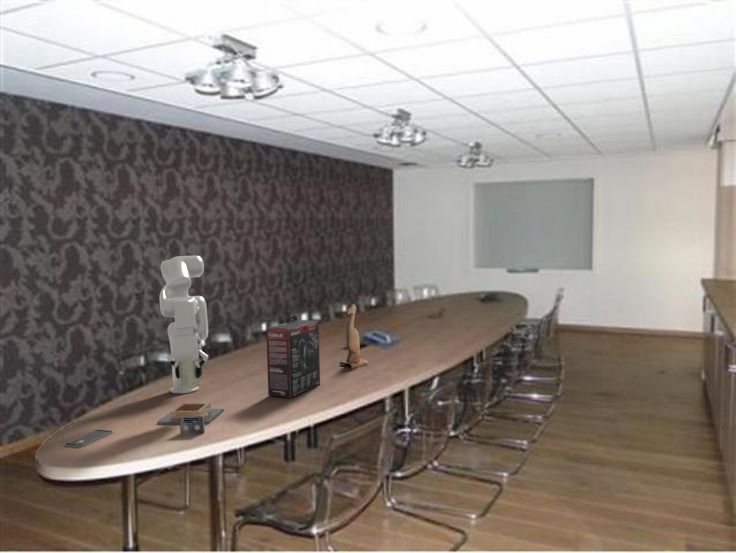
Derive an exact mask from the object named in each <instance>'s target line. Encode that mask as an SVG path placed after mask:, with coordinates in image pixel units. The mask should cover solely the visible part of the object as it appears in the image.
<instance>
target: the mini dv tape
mask: <svg viewBox="0 0 736 553" xmlns="http://www.w3.org/2000/svg"><path fill="white" fill-rule="evenodd" d="M179 419H180V424H179V431H180V435H195V434H196V435H197V434H201V435H203V434H205V431H206V430H205V428H206V427H205V424H204V416H193V417H180V418H179Z"/></svg>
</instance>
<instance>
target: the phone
mask: <svg viewBox="0 0 736 553" xmlns="http://www.w3.org/2000/svg"><path fill="white" fill-rule="evenodd" d="M112 434H114V432H113V430H106V429H96V430H94V431H92V432H89V433H87V434H84V435H82V436H80V437H78V438H77V437H76V438H75V439H72V440H70V441H69V442H66V443H64V447H67V448H77V449H81V448H84V447H87V446H88V445H90V444H93V443H95V442H97V441H99V440H101V439H104V438H106V437H108V436H110V435H112Z"/></svg>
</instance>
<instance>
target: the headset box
mask: <svg viewBox="0 0 736 553" xmlns="http://www.w3.org/2000/svg"><path fill="white" fill-rule="evenodd" d="M319 322H320V321H318V320H309V319H308V320H307V319H306V320H303V319H301V320H300V319H298V316H297V315H291V316H287V317H285V323H281V324H277V325H273V326H268V327H266V328H265V329H266V360H267V361H266V362H267V390H268V392H267V395H268V396H270V397H271V396H272V397H277V398H278V397H279V398H280V397H281V398H287V399H292V398H293V397H296V396H299V395H301V394H303V393H305V392H307V391H310V390H312V389H314V388H316V387H319V386H320V385H321V372H320V371H321V366H320V364H321V363H320V361H321V360H320V330H319V329H320V326H319V325H320V324H319Z"/></svg>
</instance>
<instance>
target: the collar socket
mask: <svg viewBox="0 0 736 553" xmlns="http://www.w3.org/2000/svg"><path fill="white" fill-rule="evenodd" d="M211 404H212V403H211V402H183V403H181V404H179V405H178V406H177V407H174V409H172V410H171V411H170V412H169V413H167V414H166V415H164V416H163V417H161V418H160V419H158V420H157V421H156V423H157V425H180V419H179V418H180V417H193V416H204V425H209V424H210V423H212V422H213V421H214V420H215V419H216V418H218V417H219V416H220V415H221V414H222V413H223V412H224V411H225V409H224V408H212V405H211Z"/></svg>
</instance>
